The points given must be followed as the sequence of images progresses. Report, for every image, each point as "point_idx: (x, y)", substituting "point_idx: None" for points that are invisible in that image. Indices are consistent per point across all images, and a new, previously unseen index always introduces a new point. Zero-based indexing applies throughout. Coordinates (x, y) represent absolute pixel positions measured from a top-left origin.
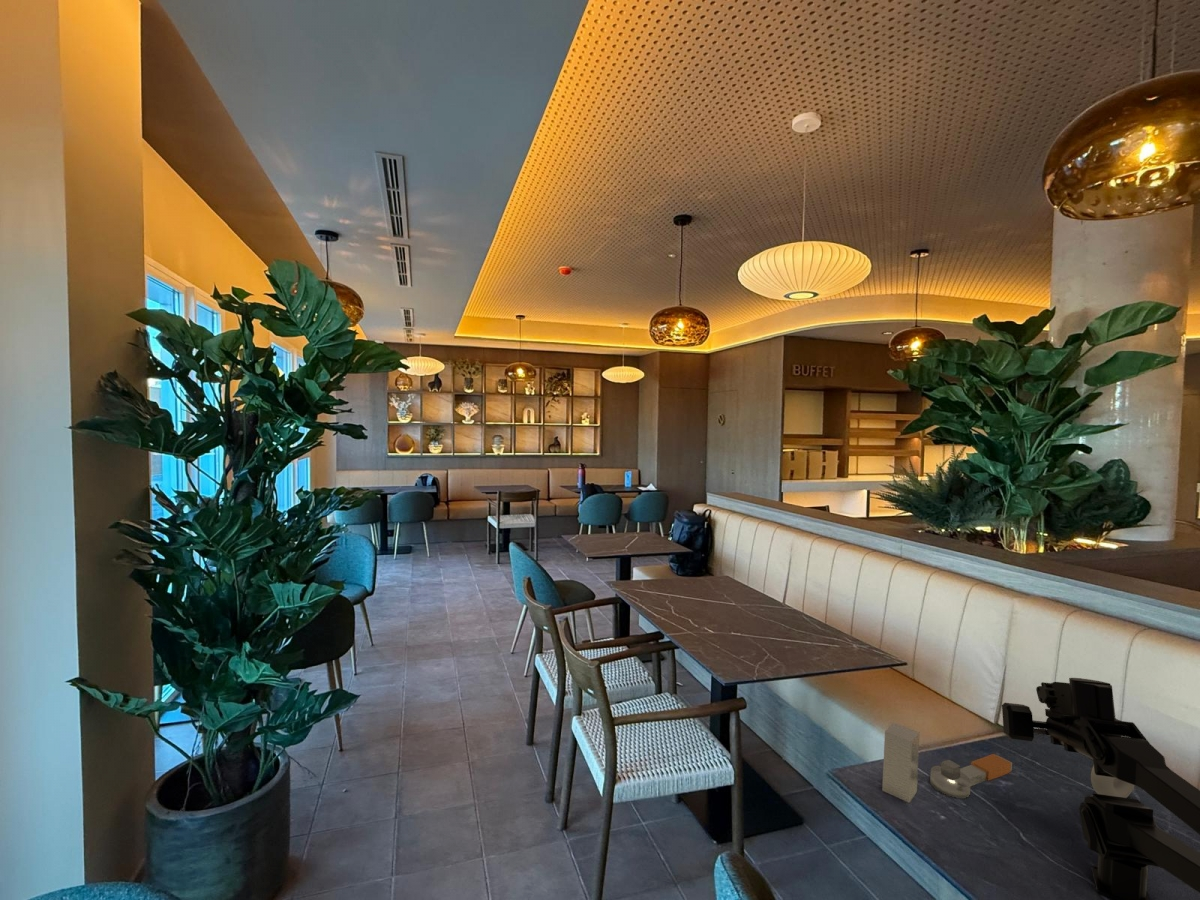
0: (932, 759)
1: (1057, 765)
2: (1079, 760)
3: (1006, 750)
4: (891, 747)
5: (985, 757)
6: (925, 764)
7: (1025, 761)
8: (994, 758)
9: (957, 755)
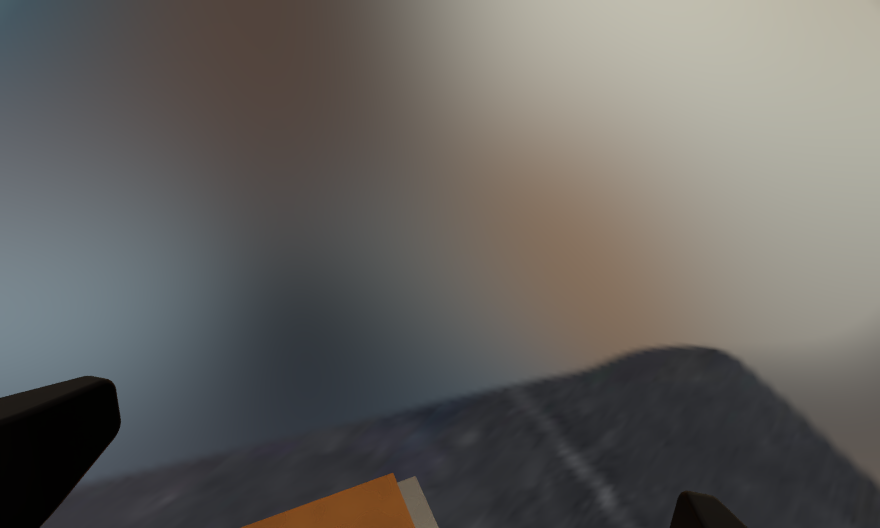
0: (128, 481)
1: None
2: (807, 475)
3: (523, 419)
4: None
5: (321, 503)
6: None
7: (557, 486)
8: (363, 509)
9: (278, 452)
